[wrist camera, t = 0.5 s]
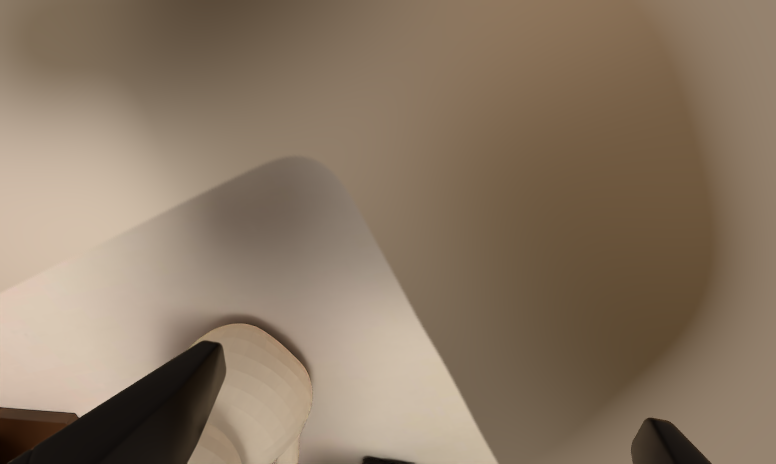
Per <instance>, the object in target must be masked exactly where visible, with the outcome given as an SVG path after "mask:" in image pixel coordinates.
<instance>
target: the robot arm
mask: <svg viewBox="0 0 776 464" xmlns="http://www.w3.org/2000/svg"><path fill="white" fill-rule="evenodd" d="M225 376H226V362H225V356H224V350H223V346H222V344H221V343H219V342H214V341H208V340H203V341H201V342H199V343H197V344H196V345H194V346H192V347H191V348H189V349H188V350H186V351H185V352H183V353H181V354H180V355H178V356H177V357H175V358H173V359H172V360H170V361H169V362H167V363H166V364H164V365H162V366H161V367H159V368H158V369H156V370H154V371H153V372H151V373H150V374H148V375H147V376H145V377H143V378H142V379H140V380H139V381H137V382H135V383H134V384H132V385H131V386H129V387H128V388H126V389H124V390H123V391H121V392H120V393H118V394H116V395H115V396H113V397H112V398H110V399H109V400H107V401H105V402H104V403H102V404H101V405H99V406H97V407H96V408H94V409H93V410H91V411H90V412H88V413H86V414H85V415H83V416H82V417H80V418H78V419H77V420H75V421H74V422H72V423H71V424H69V425H67V426H66V427H64V428H63V429H61V430H59V431H58V432H56V433H55V434H53V435H52V436H50V437H48V438H47V439H45V440H44V441H42V442H40V443H39V444H37V445H36V446H35V447H34V448H33V450H32V449H29V450H28V451H26V452H24V453H23V454H21V455H20V456H18V457H16V458H15V459H13V460H12V461H10V462H9V463H7V464H187V463H188V461H189V459H190V457H191V455H192V453H193V451H194V449H195V448H196V446H197V444H198V441H199V439H200V437H201V435H202V432H203V430H204V427H205V425H206V423H207V420H208V418H209V415H210V413H211V411H212V408H213V406H214V404H215V401H216V399H217V396H218V394H219V392H220V389H221V387H222V384H223V382H224V379H225ZM631 454H632V461H633V464H711V462H710V461H708V460H707V458H706V457H705V456H704V455H703V454H702V453H701V452H700V451H699V450H698V449H697V448H696V447H695V446H694V445H693V444H692V443H691V442H690V441H689V440H688V439H687V438H686V437H685V436H684V435H683V434H682V433H681V432H680V431H679V430H678V428H677V427H675V426H674V425H673V424H672V423H671V422H669V421H666V420H661V419H656V418H647V419H646V420H645V421H644V422H643V424H642V426H641V428H640V429H639V431H638V433H637V435H636V436H635V438H634V440H633V442H632V447H631ZM362 464H393V463H389V462H384V461H380V460H375V459H370V458H365V459H363V462H362Z"/></svg>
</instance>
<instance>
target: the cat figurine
mask: <svg viewBox="0 0 776 464" xmlns="http://www.w3.org/2000/svg"><path fill="white" fill-rule="evenodd" d="M203 340H208V341H214V342H219V343H221V344H222V346H223V350H224V356H225V362H226V376H225V379H224V382H223V384H222V387H221V389H220V392H219V394H218V396H217V399H216V401H215V404H214V406H213V408H212V411H211V413H210V415H209V418H208V420H207V423H206V425H205V427H204V430H203V432H202V435H201V437H200V439H199V441H198V444H197V446H196V448H195V449H194V451H193V453H192V455H191V457H190V459H189V461H188V463H187V464H271V463H272V462H273V461H275V460H276V464H298V457H299V443H300V439H299V435H300V433H301V431H302V429H303V427H304V425H305V422H306V420H307V418H308V415H309V412H310V409H311V405H312V398H313V391H312V385H311V381H310V377H309V375H308V373H307V371H306V369H305V367H304V366H303V365H302V364H301V363H300V361H299V360H298V359H297V358H296V357H295V356H294V355H292V354H291V353H290V352H289V351H288V350H287V349H286V348H285V347H284V346H283V345H282V344H280V343H279V342H278V341H277V340H276V339H274V338H273V337H272V336H270V335H269V334H268V333H266V332H265V331H263V330H261V329H259V328H258V327H256V326H252V325H248V324H244V323H242V324H230V325H225V326H221V327H218V328H215V329H214V330H212V331H210V332H208V333H207V334H205V335H204V336H203V337H201V338H200V339H198V340H197V341H196V342H195V343H193V344H192V345H191V346H190V347H189V348H191V347H192V346H194V345H196V344H197V343H199V342H201V341H203ZM189 348H188V349H189ZM188 349H187V350H188Z"/></svg>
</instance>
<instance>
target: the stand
mask: <svg viewBox="0 0 776 464" xmlns="http://www.w3.org/2000/svg"><path fill="white" fill-rule="evenodd" d="M77 419H78V418H77V416H76V414H70V413H58V412H45V411H33V410H21V409H8V408H0V464H7V463H9V462H10V461H12V460H13V459H15V458H16V457H18V456H20V455H21V454H23V453H24V452H26V451H28V450H29V449H32V450H33V448H34V447H35V446H36V445H37V444H39V443H40V442H42V441H44V440H45V439H47V438H48V437H50V436H52V435H53V434H55V433H56V432H58V431H59V430H61V429H63V428H64V427H66V426H67V425H69V424H71V423H72V422H74V421H75V420H77Z"/></svg>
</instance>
